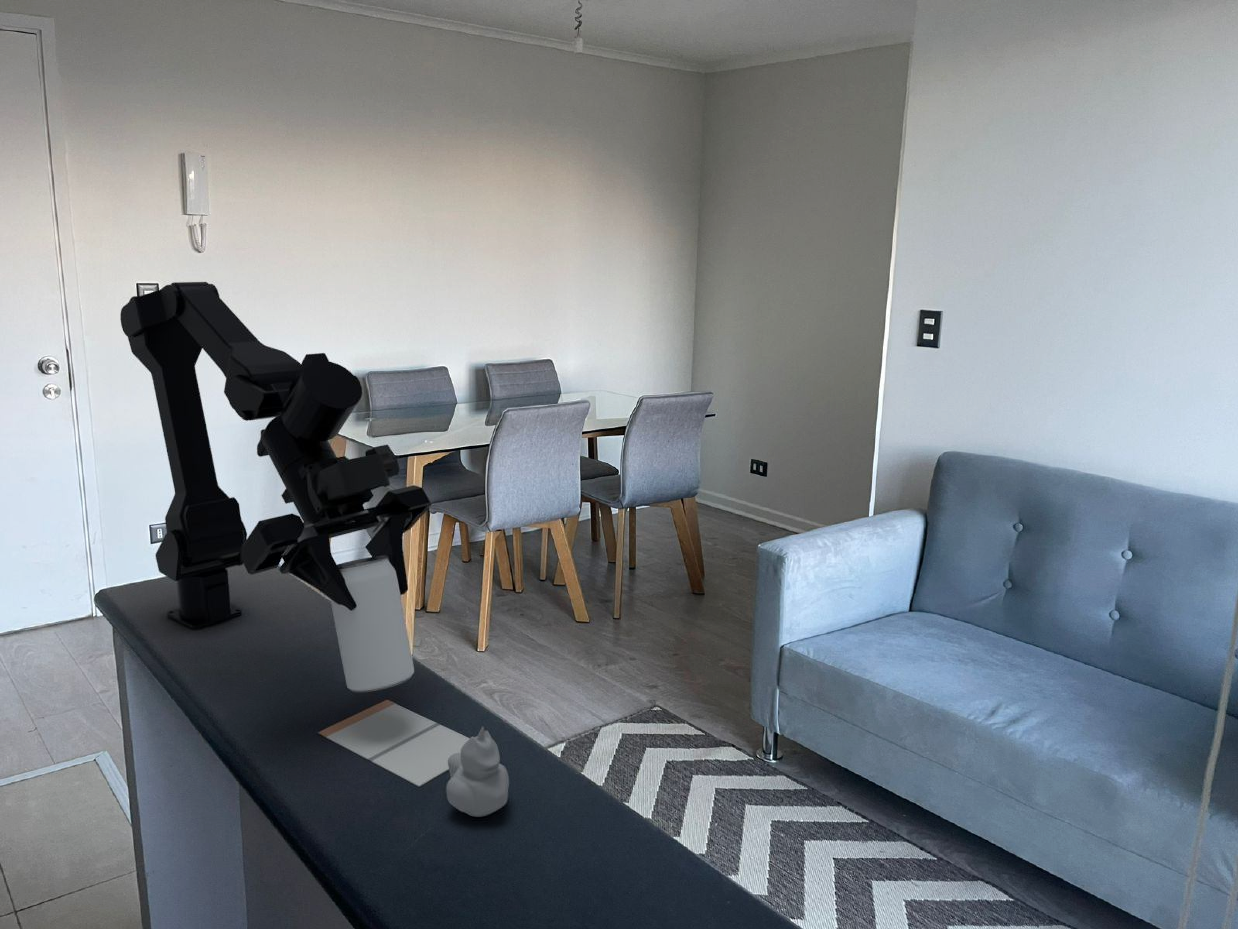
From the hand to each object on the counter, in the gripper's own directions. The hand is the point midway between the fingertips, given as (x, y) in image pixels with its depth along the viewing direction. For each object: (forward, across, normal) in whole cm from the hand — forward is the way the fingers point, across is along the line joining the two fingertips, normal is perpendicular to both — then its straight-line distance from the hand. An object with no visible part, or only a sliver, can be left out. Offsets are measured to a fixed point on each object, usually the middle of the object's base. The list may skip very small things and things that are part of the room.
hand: (379, 601), depth 91 cm
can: (+6, -1, +5) cm, 8 cm away
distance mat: (+12, -1, +6) cm, 14 cm away
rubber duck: (+21, -3, -3) cm, 22 cm away
